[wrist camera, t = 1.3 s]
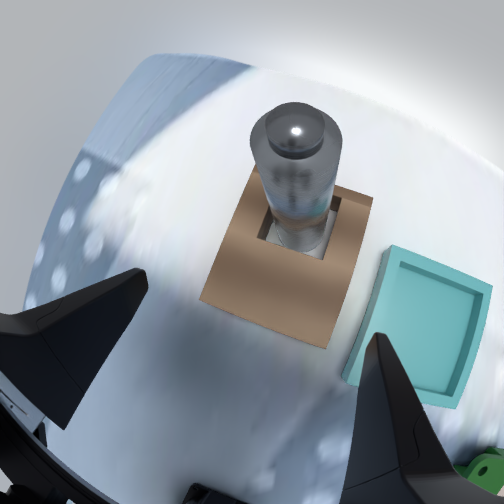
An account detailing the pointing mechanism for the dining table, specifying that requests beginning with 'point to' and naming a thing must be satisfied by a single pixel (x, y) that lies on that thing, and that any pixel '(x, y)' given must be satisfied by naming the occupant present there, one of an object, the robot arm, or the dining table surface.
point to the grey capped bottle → (297, 170)
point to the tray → (425, 324)
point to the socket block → (286, 268)
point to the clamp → (485, 470)
